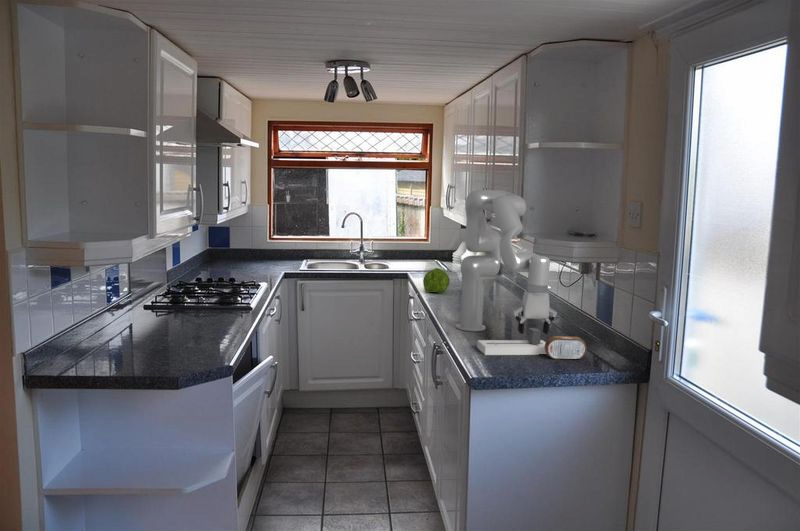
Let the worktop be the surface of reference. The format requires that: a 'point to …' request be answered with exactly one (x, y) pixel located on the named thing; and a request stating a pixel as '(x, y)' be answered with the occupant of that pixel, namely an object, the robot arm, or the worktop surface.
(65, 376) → the worktop surface
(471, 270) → the robot arm
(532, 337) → the fader tab
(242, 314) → the worktop surface
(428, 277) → the lettuce
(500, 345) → the console
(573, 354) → the tin
